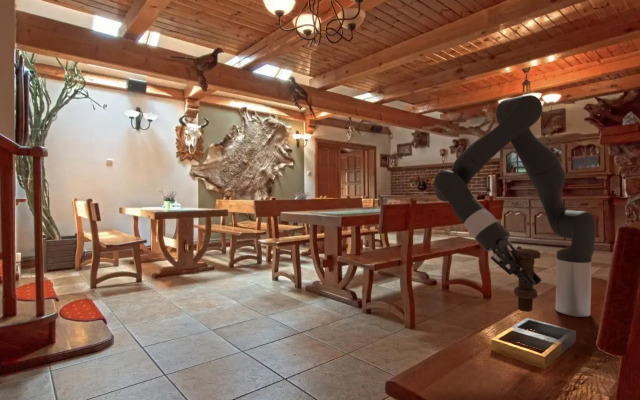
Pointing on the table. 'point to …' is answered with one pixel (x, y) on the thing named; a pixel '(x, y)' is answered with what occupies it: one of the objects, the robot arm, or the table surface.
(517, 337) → the tray
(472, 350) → the table surface
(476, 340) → the table surface
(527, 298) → the bolt
